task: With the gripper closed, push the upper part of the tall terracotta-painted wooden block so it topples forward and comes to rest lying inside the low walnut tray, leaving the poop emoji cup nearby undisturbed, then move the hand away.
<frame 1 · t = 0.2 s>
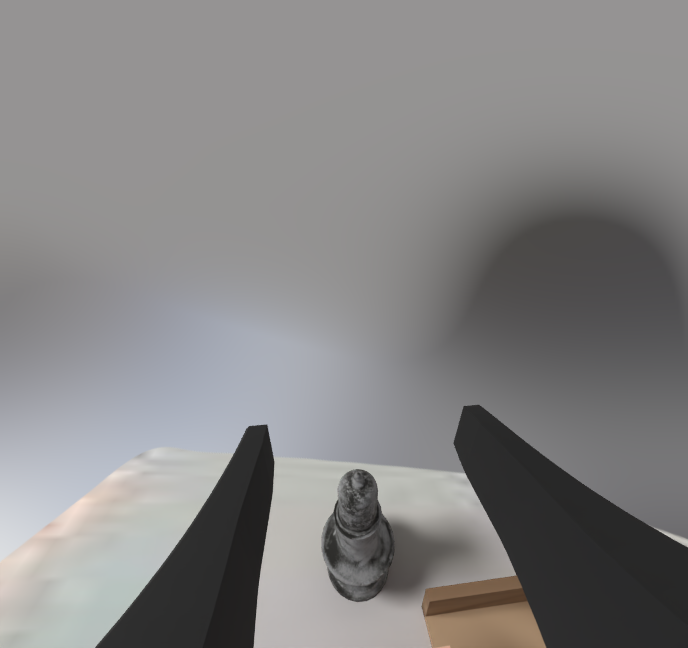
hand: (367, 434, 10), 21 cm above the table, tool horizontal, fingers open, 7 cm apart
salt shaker: (357, 562, 25), on the table
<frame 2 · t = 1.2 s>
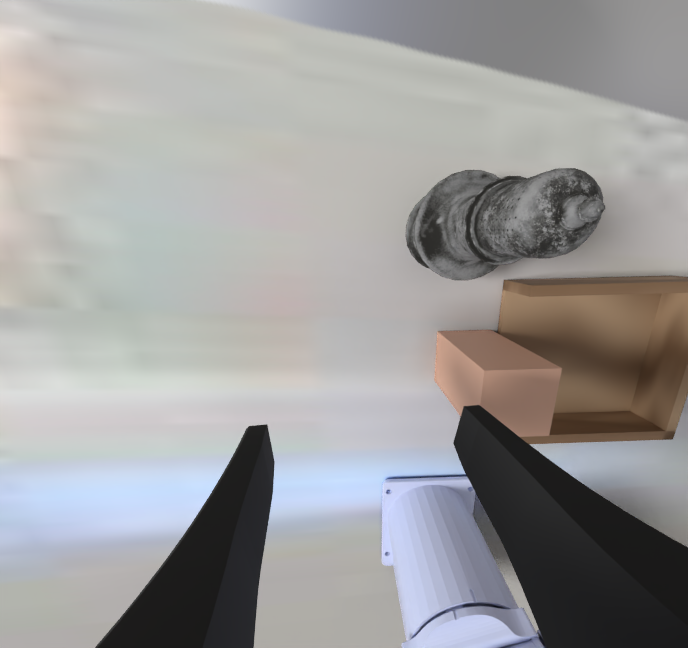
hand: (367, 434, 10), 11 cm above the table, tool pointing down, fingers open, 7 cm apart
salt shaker: (443, 231, 19), on the table
tall block: (461, 355, 22), on the table
walnut tray: (572, 352, 22), on the table
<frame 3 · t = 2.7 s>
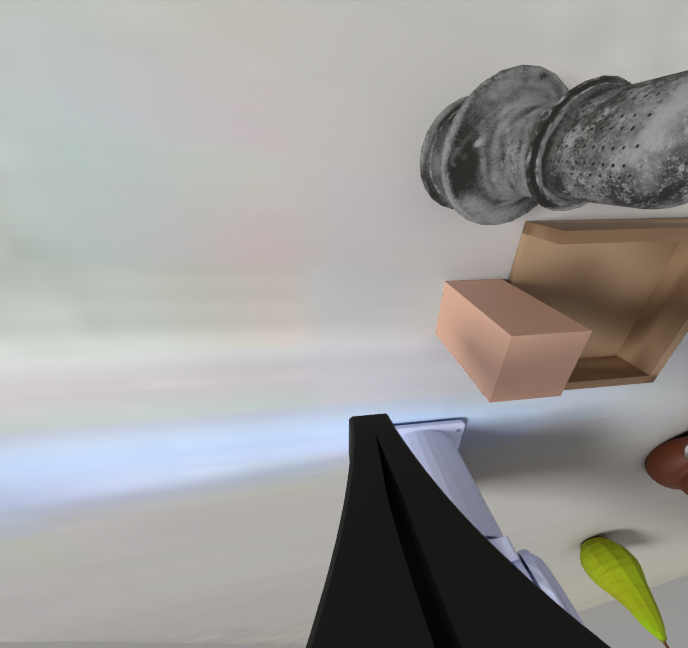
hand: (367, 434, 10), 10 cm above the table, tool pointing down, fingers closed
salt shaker: (465, 156, 16), on the table
tall block: (467, 307, 20), on the table
fruit: (589, 539, 42), on the table
walnut tray: (577, 301, 21), on the table
poop emoji: (681, 443, 33), on the table
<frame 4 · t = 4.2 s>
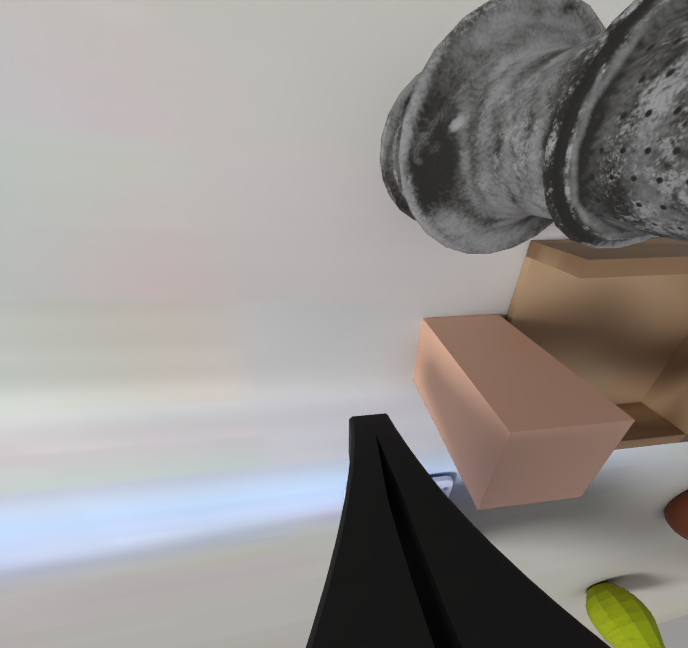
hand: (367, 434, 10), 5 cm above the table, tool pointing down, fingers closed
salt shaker: (446, 151, 11), on the table
tall block: (453, 348, 15), on the table
fruit: (595, 583, 38), on the table
walnut tray: (596, 339, 16), on the table
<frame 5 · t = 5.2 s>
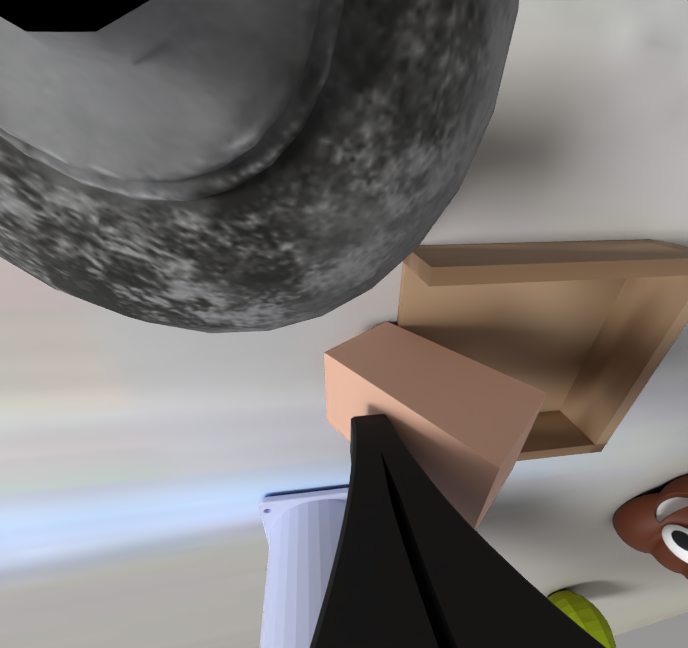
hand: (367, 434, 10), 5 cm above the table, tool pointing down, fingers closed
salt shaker: (293, 153, 10), on the table
tall block: (357, 370, 14), point 1 cm above the table, tilted 36°, touching gripper
fruit: (556, 591, 37), on the table
walnut tray: (499, 347, 16), on the table
poop emoji: (655, 496, 28), on the table
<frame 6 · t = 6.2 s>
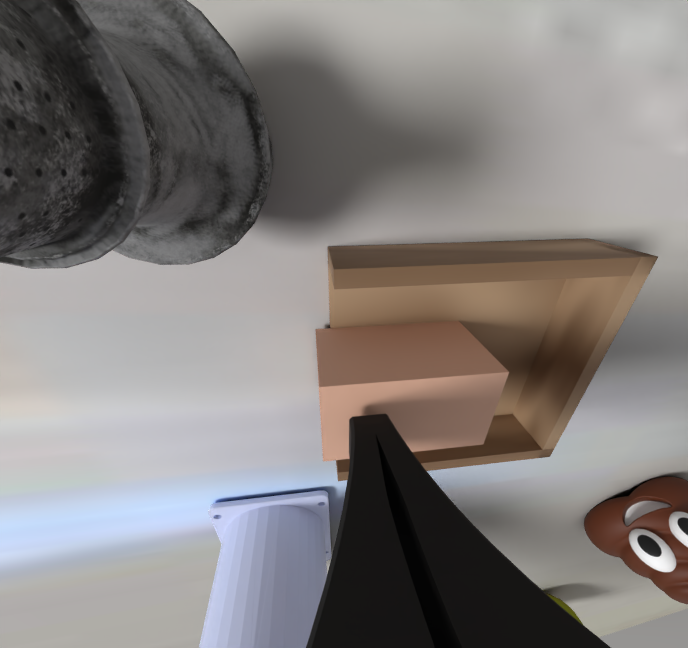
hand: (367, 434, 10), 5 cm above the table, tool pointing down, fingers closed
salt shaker: (195, 150, 10), on the table
tall block: (319, 391, 12), point 2 cm above the table, tilted 90°, touching walnut tray
walnut tray: (442, 350, 15), on the table
poop emoji: (627, 499, 27), on the table
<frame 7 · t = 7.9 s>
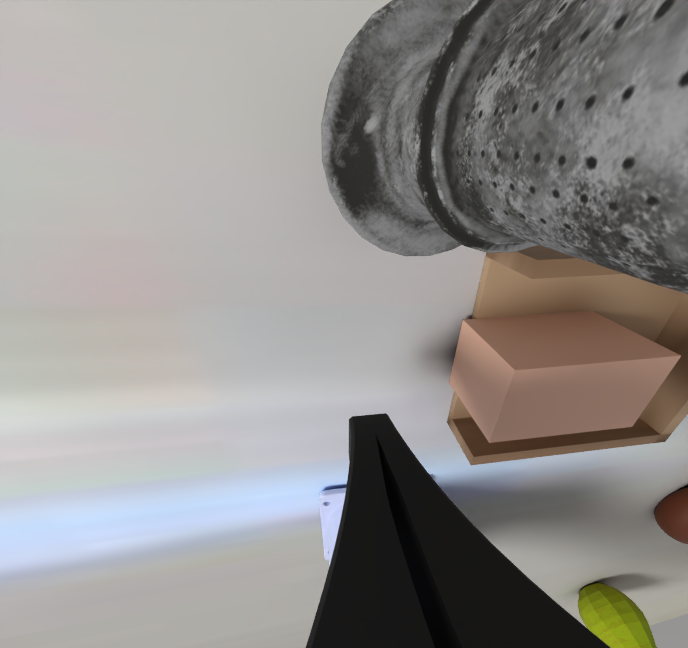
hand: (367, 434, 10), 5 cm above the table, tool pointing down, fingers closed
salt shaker: (394, 151, 11), on the table
tall block: (475, 377, 13), point 2 cm above the table, tilted 90°, touching walnut tray
fruit: (588, 584, 37), on the table
walnut tray: (566, 339, 16), on the table
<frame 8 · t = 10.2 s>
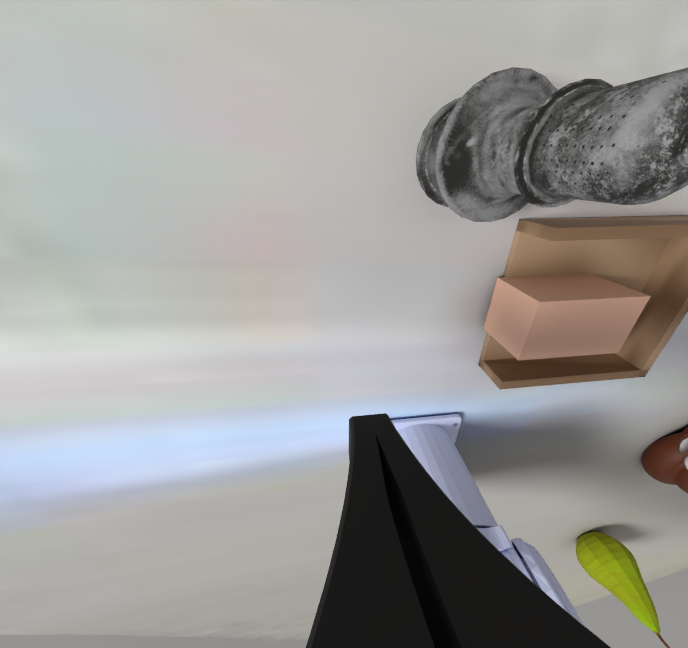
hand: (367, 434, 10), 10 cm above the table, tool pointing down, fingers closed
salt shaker: (460, 156, 16), on the table
tall block: (507, 317, 19), point 2 cm above the table, tilted 90°, touching walnut tray
fruit: (585, 533, 43), on the table
walnut tray: (571, 297, 21), on the table
poop emoji: (677, 439, 33), on the table
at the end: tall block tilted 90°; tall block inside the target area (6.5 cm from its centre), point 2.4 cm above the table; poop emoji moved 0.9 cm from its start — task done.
